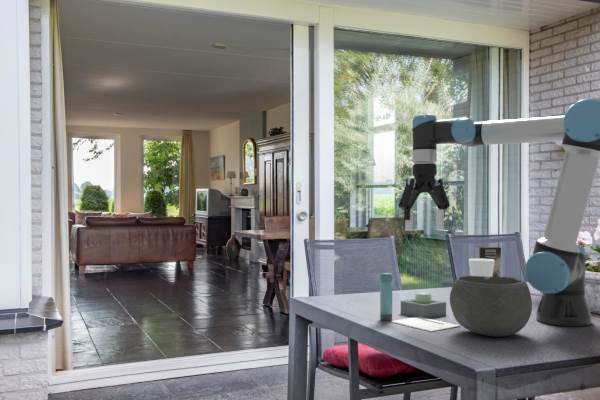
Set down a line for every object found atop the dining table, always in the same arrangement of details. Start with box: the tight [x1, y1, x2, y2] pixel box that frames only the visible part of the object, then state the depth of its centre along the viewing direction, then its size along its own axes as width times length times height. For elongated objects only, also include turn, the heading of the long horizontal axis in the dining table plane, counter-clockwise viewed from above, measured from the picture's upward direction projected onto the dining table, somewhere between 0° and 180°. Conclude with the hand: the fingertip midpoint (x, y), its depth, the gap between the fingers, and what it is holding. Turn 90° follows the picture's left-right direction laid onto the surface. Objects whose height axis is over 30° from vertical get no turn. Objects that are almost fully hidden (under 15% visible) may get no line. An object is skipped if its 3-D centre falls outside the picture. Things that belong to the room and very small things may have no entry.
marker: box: [379, 272, 394, 322], centre depth 184 cm, size 4×4×14 cm
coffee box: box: [474, 245, 502, 277], centre depth 259 cm, size 9×6×16 cm
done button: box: [414, 291, 432, 304], centre depth 193 cm, size 5×5×5 cm
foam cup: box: [468, 258, 494, 277], centre depth 235 cm, size 10×9×13 cm
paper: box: [390, 316, 461, 333], centre depth 178 cm, size 16×12×1 cm
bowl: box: [449, 275, 533, 338], centre depth 165 cm, size 21×21×15 cm
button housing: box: [400, 298, 447, 319], centre depth 193 cm, size 10×10×4 cm
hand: (424, 230), depth 195 cm, fingers open, 13 cm apart
